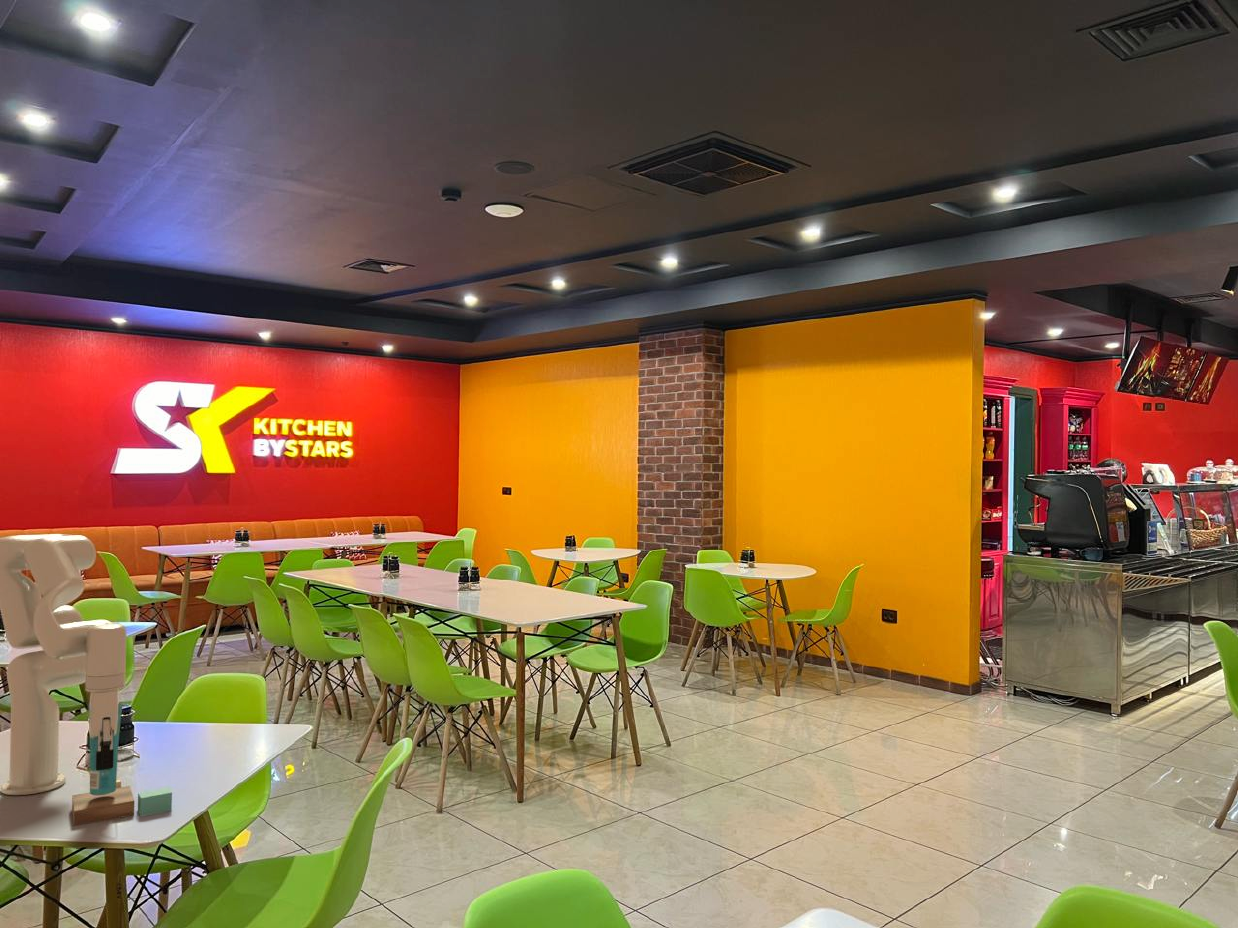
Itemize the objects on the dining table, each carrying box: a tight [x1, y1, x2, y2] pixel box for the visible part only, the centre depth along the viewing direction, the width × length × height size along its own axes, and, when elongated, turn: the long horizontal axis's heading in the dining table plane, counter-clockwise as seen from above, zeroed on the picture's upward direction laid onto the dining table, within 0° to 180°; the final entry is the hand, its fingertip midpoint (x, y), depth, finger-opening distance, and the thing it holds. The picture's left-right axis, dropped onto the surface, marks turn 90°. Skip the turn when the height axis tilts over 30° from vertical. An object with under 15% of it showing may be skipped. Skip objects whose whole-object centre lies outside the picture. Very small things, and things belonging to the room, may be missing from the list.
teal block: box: [137, 787, 173, 817], centre depth 190 cm, size 6×4×4 cm, turn 127°
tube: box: [88, 702, 124, 795], centre depth 189 cm, size 7×5×19 cm, turn 96°
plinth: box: [71, 785, 135, 826], centre depth 189 cm, size 11×11×3 cm
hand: (103, 764), depth 189 cm, fingers closed on tube, 4 cm apart
